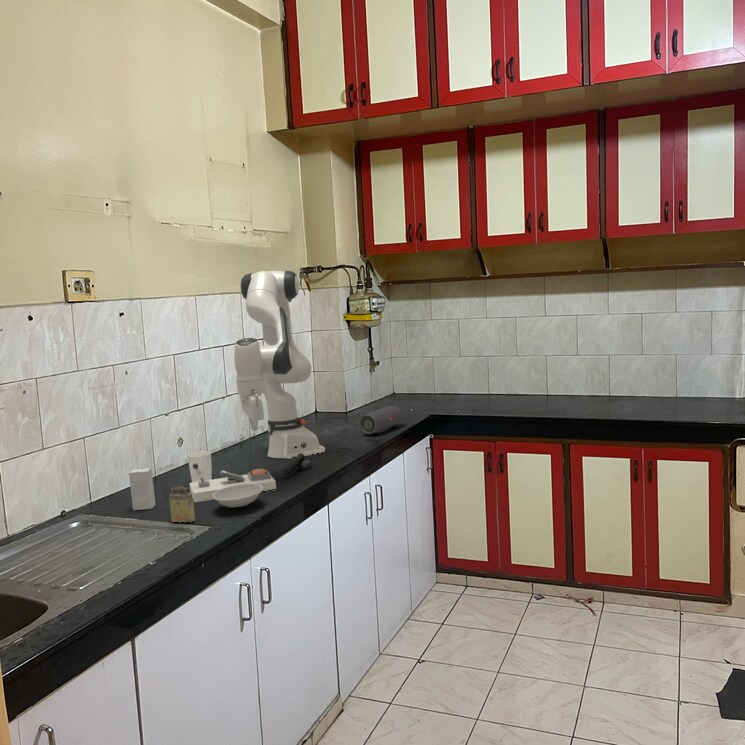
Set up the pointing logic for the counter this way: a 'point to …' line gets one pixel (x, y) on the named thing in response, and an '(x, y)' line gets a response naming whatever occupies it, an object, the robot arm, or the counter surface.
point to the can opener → (296, 465)
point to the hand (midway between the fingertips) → (254, 429)
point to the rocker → (232, 475)
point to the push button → (258, 472)
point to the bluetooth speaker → (380, 420)
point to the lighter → (181, 505)
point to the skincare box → (142, 489)
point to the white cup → (200, 465)
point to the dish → (237, 495)
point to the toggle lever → (198, 472)
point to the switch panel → (209, 487)
